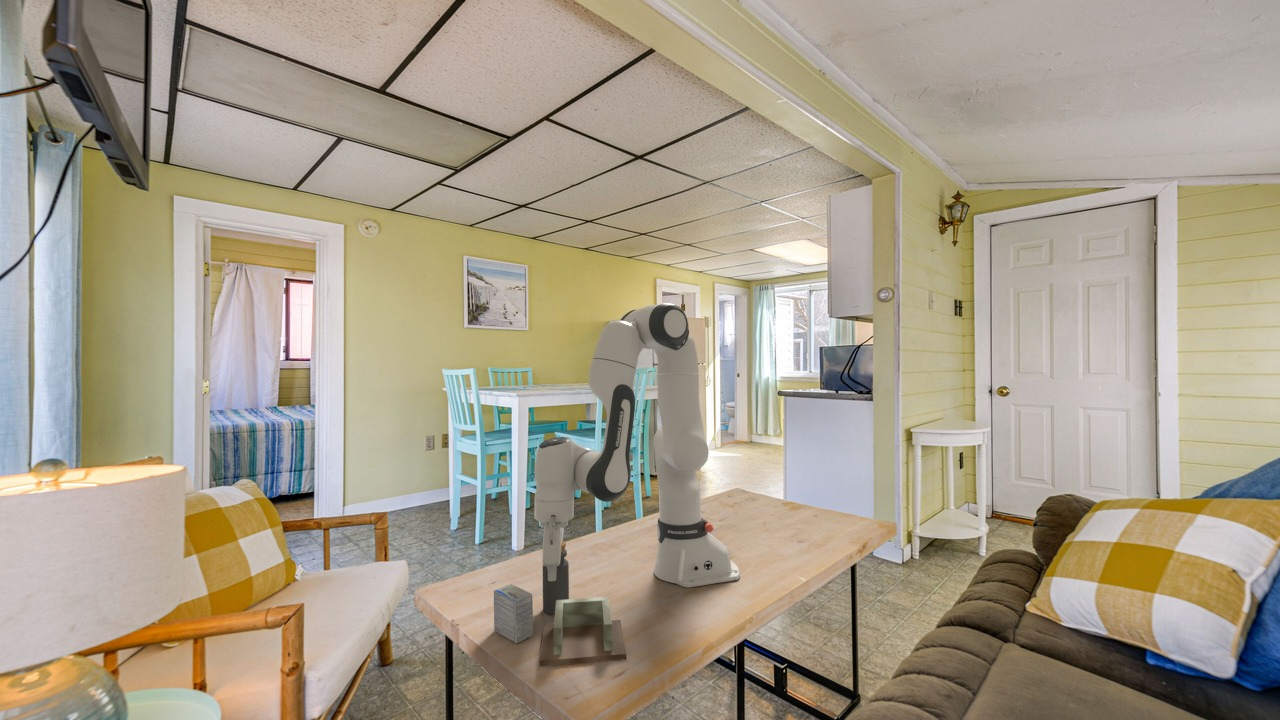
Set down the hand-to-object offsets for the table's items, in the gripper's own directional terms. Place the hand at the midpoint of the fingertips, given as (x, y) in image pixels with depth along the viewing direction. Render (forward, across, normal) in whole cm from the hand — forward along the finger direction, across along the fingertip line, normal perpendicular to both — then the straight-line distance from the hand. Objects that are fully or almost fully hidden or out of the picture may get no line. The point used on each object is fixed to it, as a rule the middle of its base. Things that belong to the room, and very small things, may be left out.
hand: (553, 571), depth 114 cm
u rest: (+9, -15, -7) cm, 18 cm away
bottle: (+9, 0, -1) cm, 9 cm away
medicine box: (+9, -9, +8) cm, 15 cm away
